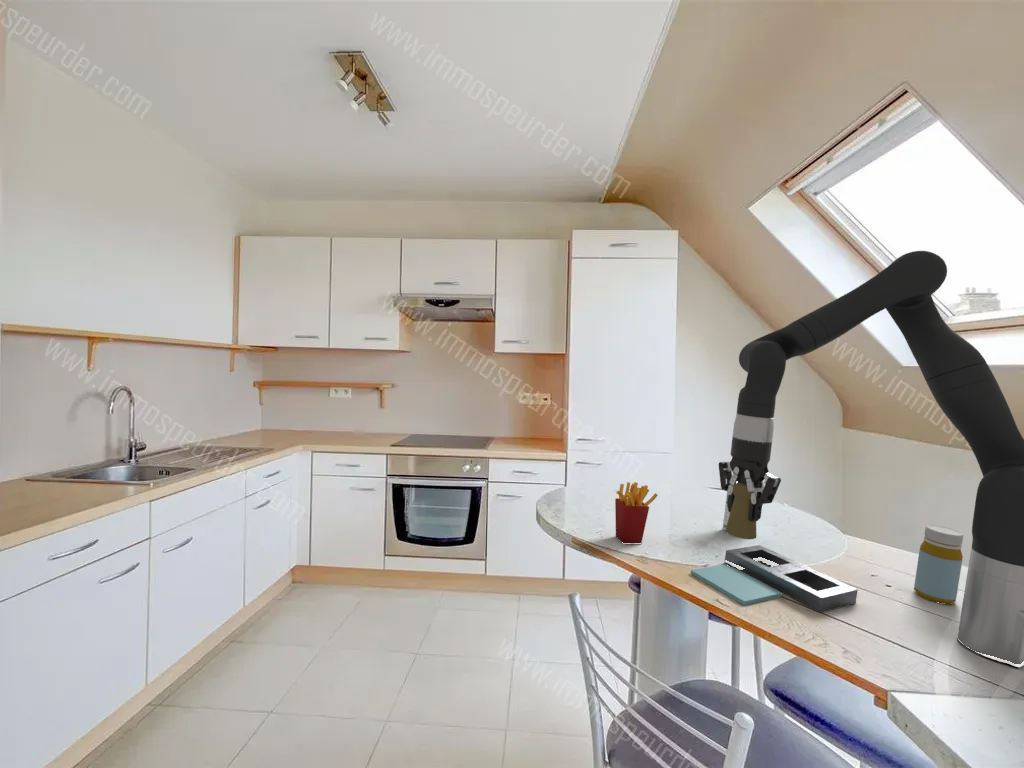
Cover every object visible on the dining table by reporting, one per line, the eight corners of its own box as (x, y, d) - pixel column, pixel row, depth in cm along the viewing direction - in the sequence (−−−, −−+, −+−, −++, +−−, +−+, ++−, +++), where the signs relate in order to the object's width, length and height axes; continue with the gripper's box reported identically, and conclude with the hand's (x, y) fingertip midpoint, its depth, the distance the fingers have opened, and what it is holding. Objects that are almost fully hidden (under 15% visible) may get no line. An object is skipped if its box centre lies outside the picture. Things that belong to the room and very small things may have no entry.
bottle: (939, 606, 105) (950, 536, 104) (905, 590, 112) (915, 524, 110) (963, 604, 107) (974, 535, 106) (928, 588, 114) (938, 523, 112)
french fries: (621, 545, 125) (626, 486, 123) (608, 532, 133) (613, 477, 131) (654, 545, 126) (660, 487, 125) (639, 532, 134) (645, 477, 133)
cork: (759, 541, 104) (766, 488, 103) (728, 536, 105) (735, 484, 104) (752, 530, 110) (758, 481, 109) (722, 526, 111) (728, 477, 110)
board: (781, 596, 104) (781, 593, 104) (744, 605, 99) (744, 601, 99) (726, 567, 117) (726, 563, 117) (690, 573, 112) (691, 570, 112)
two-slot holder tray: (855, 603, 104) (857, 589, 103) (819, 612, 99) (821, 598, 98) (758, 556, 124) (759, 545, 124) (724, 562, 119) (725, 550, 119)
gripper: (796, 444, 101) (785, 527, 102) (736, 430, 113) (728, 504, 115) (770, 444, 97) (759, 530, 99) (712, 430, 110) (703, 506, 112)
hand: (742, 516), depth 107 cm, fingers closed on cork, 4 cm apart
